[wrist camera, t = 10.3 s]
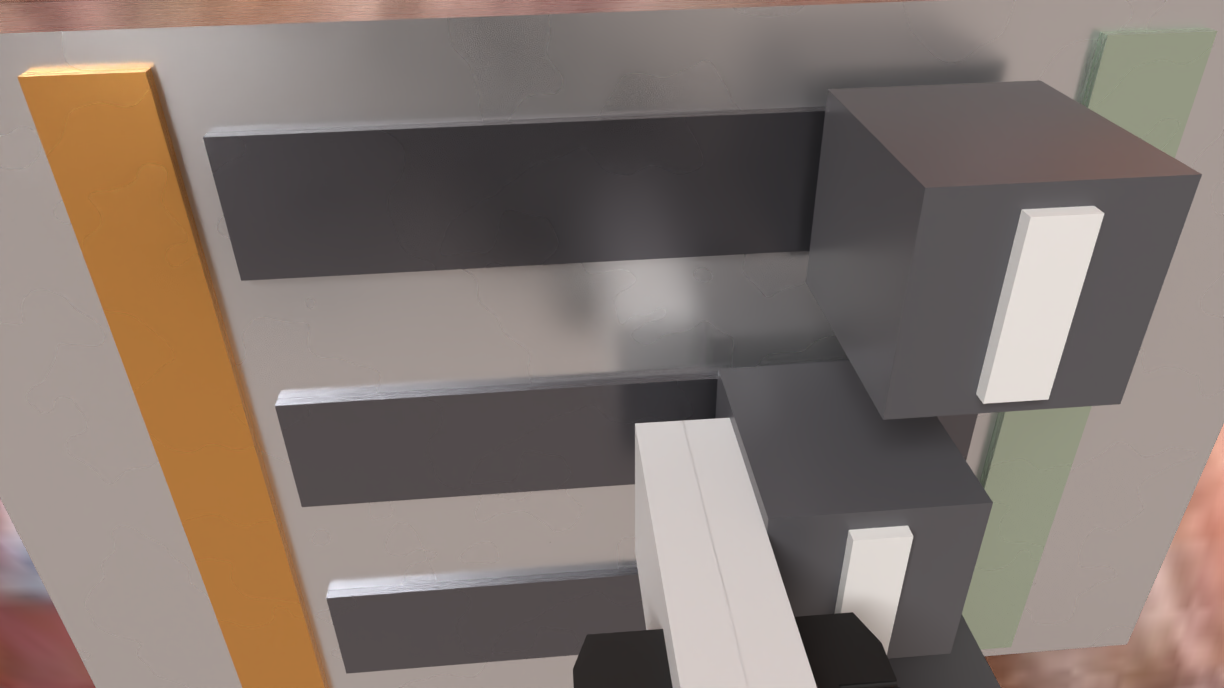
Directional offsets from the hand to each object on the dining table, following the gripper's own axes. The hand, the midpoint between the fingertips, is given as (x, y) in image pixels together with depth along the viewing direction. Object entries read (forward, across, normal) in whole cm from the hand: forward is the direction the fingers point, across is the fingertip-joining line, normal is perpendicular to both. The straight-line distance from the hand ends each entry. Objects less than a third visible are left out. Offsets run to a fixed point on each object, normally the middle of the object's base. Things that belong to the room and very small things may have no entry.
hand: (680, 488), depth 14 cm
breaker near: (+1, +4, +5) cm, 6 cm away
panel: (+4, 0, 0) cm, 4 cm away
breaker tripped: (+1, +2, 0) cm, 2 cm away
